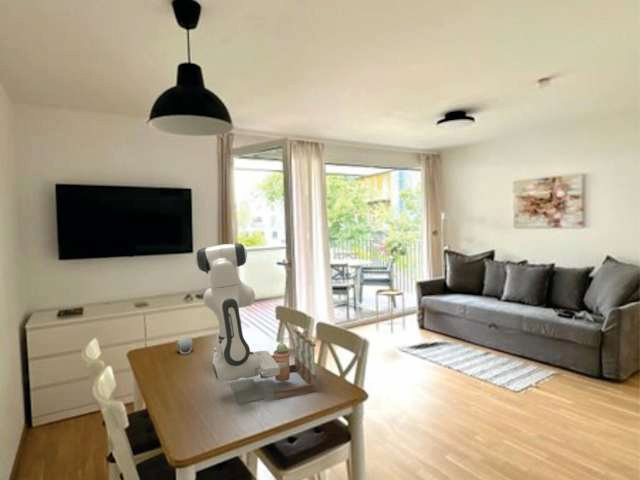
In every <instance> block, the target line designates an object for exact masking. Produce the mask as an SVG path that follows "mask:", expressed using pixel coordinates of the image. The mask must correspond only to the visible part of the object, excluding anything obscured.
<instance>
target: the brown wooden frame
mask: <svg viewBox="0 0 640 480" xmlns="http://www.w3.org/2000/svg"><path fill="white" fill-rule="evenodd" d="M293 331H294V332H293V333H294V345H295V347H294V350H295V352H294V353H295V356H294V364H289V366H290V373H293V372H292V371H294V372H296V373H297V374H298V376H299V377H300V378H301V379H302V380H303V381H304V382H305V383H306V384H303V385H299V386H293V387H291V388H290V387H289V388H284V389H280V390H279V389H278V390H274V391H273V398H274V400H275V401H276V400H280V399H284V398H289V397H294V396H299V395H303V394H308V393H312V392H317V374H316V366H315V364H316V363H315V362H316V361H315V357H316V355H315V348H316V343H315V342H314V341H312V339H310V338H308V336H306V335H305V334H304V333H302V332H301V331H299V329H298V328H294V329H293ZM259 378H265V377H264V376H262V375H260V377H259Z"/></svg>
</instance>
